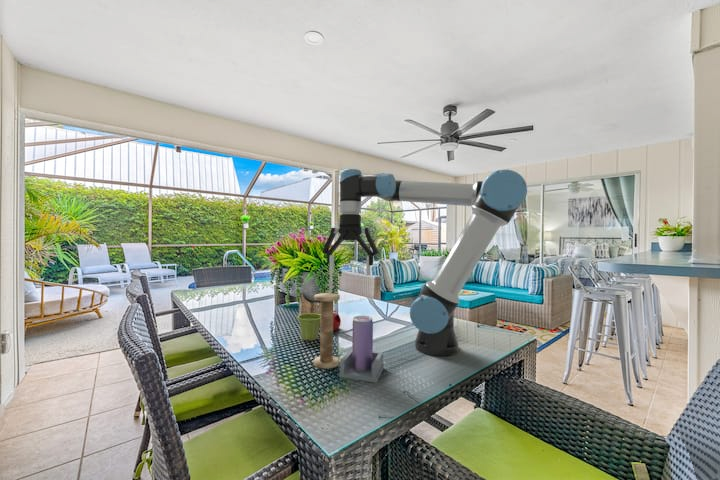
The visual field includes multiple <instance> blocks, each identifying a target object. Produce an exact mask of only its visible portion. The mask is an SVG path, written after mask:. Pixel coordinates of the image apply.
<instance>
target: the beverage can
mask: <svg viewBox="0 0 720 480" xmlns="http://www.w3.org/2000/svg"><path fill="white" fill-rule="evenodd" d="M373 333H374V322H373V317H371V316H370V315H356V316H353V319H352V347H351V349H352V367H353V369H354V370H355V371H357V372H368V371H370V370H371V369H372V364H373V351H374V350H373V349H374V348H373V346H374V344H373V343H374V339H373V338H374V334H373Z"/></svg>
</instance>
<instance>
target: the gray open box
mask: <svg viewBox="0 0 720 480" xmlns="http://www.w3.org/2000/svg"><path fill="white" fill-rule="evenodd" d="M339 368H340V369H339V372H338V377H339V378H342V379H349V380H356V381H362V382H370V383H378V381H379V379H380V376H381V375H382V372H383V370H384V369H385V363H384V352H382V351H374V350H373V364H372V369H371V370H370V371H368V372H357V371H355V370H354V369H353V367H352V348H350V349H349V350H348V351H347V352H346V354H345V355H344V356H343V357H342V358H341V359H340V360H339Z"/></svg>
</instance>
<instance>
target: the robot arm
mask: <svg viewBox="0 0 720 480" xmlns="http://www.w3.org/2000/svg"><path fill="white" fill-rule="evenodd" d="M339 176H340V178H339V179H340V180H339V213H340V215H339V228H337V227H331V228H330V233H329V236H328V238H327V240H326V243H325V244H324V246H323V248H322V250H321V253H323V254H325V255H326V256H327V257H326V259H327V260H326V263H327V265H329V269H328V270H329V275H330V274H335V254H334V252H335V251H336V250H337V248H339V246H340V245H341V244H342V242H344V241H357V242H358V244H359V245H360V246H361V247H362V249H363V250H364V251H365V253H366V254H367V256H366V267H365V268H366V271H365V272H366V273H365V274H366V276H370V275H371V267H372V266H373V265H374V256H376V255H378V254H379V250H378V248H377V245H376V244H375V242H374V239H373V238H372V237H373V236H372V234H371V230H370V228H369V227H364V228H362V216H361V214H362V197H363V198H367V197H369V198H372V197H376V198H379V199H382V200H384V201H386V202H408V203H423V204H433V205H434V204H436V205H437V204H439V205H450V206H451V205H452V206H461V207H462V206H464V207H471V211H472V214H471V216H470V217H469V218H468V219H469V220H467V222H466V224H465V226H464V228H463V230H462V231H461V232H460V234H459V236H458V238H457V239H456V241H455V242H454V244H453V246H452V248H451V249H450V251H449V253H448V255H447V256H446V258H445V260H444V262H443V263H442V265H441V266H440V267H439V269H438V272H437V273H436V275H435V277H434V278H433V280H428V281H426V282H425V283H423V284H421V285H420V286H421V287H420V290H419V291H420V293H419V294H418V296H417V297H416V298H415V299H414V300H413V301H412V303H411V305H410V309H409V317H410V320H411V322H412V324H413V326H414V327H415V328H416V329H417V330H418V331H417V335H416V338H415V342H414V343H415V345H414V346H415V349H416V350H418V351H419V352H421V353H424V354H425V355H426V354H427V355H430V356H438V357H439V356H440V357H441V356H442V357H446V356H453V355H456V354H457V353H458V352H459V342H458V338H457V335H456V332H455V328H454V327H455V326H454V321H455V319H454V318H455V316H454V315H455V310H456V309H457V307H458V305H459V303H460V297H459V293H460V292H461V291H462V289H463V288H464V286H465V284H466V283H467V281H468V279H469V278H470V275H471V274H472V273H473V271H474V270H475V267H476V266H477V265H478V263H479V261H480V260H481V258H482V257H483V255H484V253H485V252H486V250H487V248H488V246H489V245H490V243H491V242H492V240H493V239H494V237H495V236H496V233H497V232H498V230H499V228H501V227H503V226H506V225H508V224H510V222H511V220H512V218H513V217H514V216H515V213H516V212H517V211H518V209H519V207H520V206H521V205H522V204H523V203H524V201H525V199H526V197H527V195H528V186H527V182H526V180H525V178H524V177H523V176H522V175H521V174H520V173H518V172H517V171H515V170H511V169H505V168H504V169H498V170H496V171H493V172H492V173H490V174H488V176H487V177H485V179H484V180H481V181H478V180H477V181H476V182H474V183H459V182H458V183H457V182H456V183H455V182H437V181H436V182H434V181H415V180H396V178H395V175H394V174H393V173H385V172H384V173H383V172H382V173H373V174H362V171H361V170H360V169H356V168H347V169H346V168H345V169H343V170H341V171H340V175H339ZM338 233H339V234H340V235H339V236H338V238H337V240H335V242H334V244H333V245H332V243H333V241H334V239H335V238H336V235H337V234H338ZM362 233H363V235H365V237H366V240H367V242H368V244H369V246H370V247H369V246H368V245H367V243H366V242H365V240H364V239H363V238H362V236H361V234H362ZM370 248H371V249H370Z"/></svg>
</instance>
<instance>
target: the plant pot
mask: <svg viewBox="0 0 720 480" xmlns="http://www.w3.org/2000/svg"><path fill="white" fill-rule="evenodd" d="M320 316H321V314H320V313H302V314H300V315H297V319H298V323H299V328H300V333H301V334H300V335H301V340H303V341H315V340H317V339H318V338H319V336H318V335H319V330H320V327H319V325H320Z"/></svg>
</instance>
